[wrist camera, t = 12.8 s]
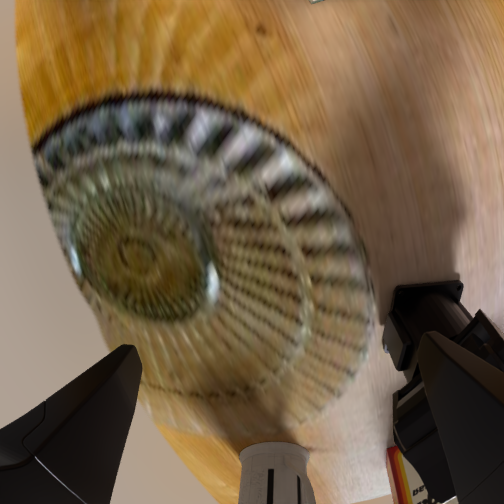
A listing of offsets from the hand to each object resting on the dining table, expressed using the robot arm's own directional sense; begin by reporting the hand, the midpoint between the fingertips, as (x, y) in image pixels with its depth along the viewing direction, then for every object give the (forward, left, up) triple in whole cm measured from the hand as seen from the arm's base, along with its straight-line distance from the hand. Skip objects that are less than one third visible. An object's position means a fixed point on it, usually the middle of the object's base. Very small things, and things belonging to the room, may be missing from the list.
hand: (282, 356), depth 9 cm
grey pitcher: (0, +28, -13) cm, 31 cm away
